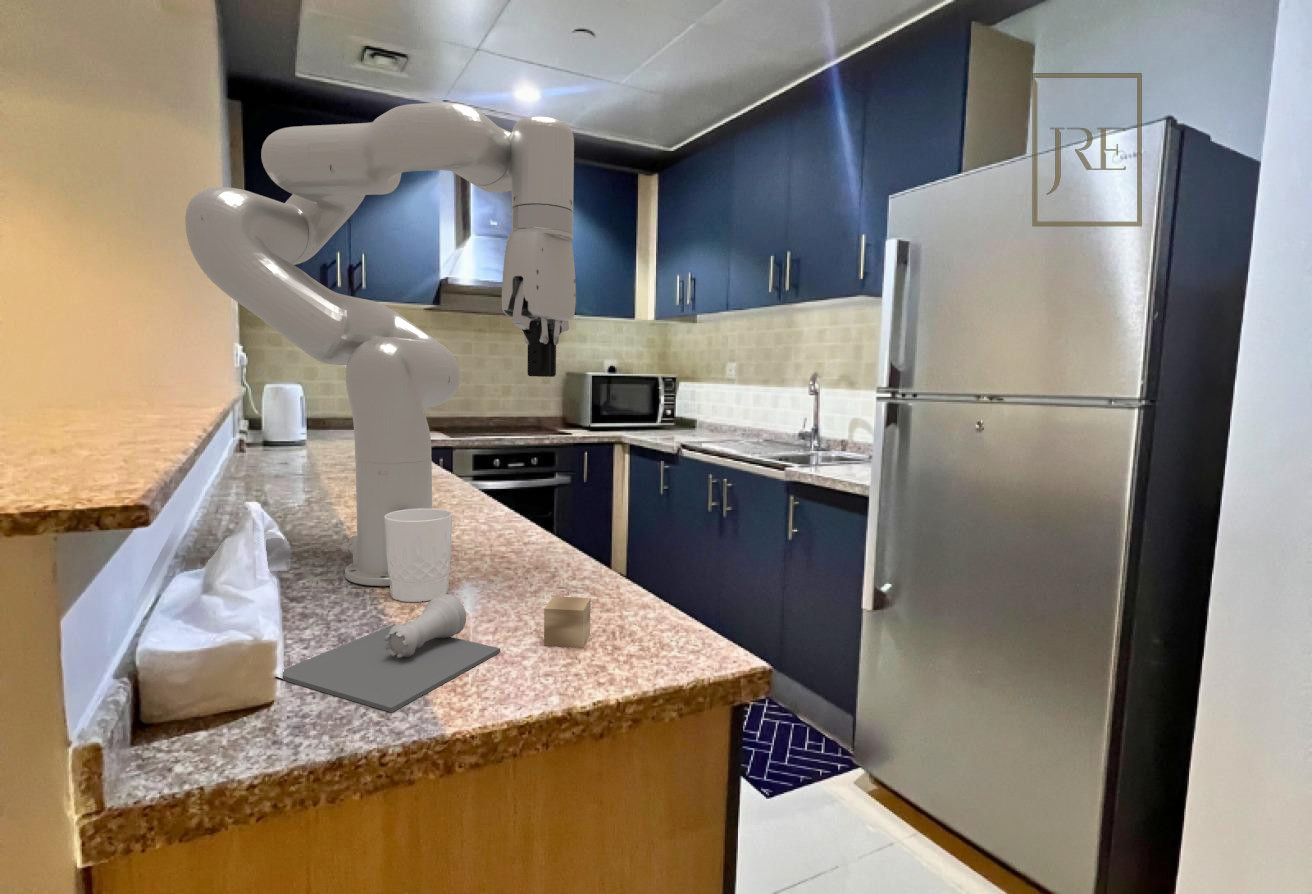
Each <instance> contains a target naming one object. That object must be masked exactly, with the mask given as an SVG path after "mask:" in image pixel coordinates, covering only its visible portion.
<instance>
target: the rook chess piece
mask: <svg viewBox="0 0 1312 894" xmlns="http://www.w3.org/2000/svg"><path fill="white" fill-rule="evenodd" d="M466 621H467V611H466V609H465V606H464V604H463V603H462V602H461V600H460V599H459V598H457V597H455V596H454V595H451V594H441V595H438V596H437V597H436V598H434V599H432V600H429V602H428V603H426V605H425V607H424V609H423V611H422V613H421V614H420V615H419V616H418V617H416V618H415V619H413V620H408V621H406V622H405V623H403V625H401V624H396V625H395V626H393V627H392V628H391V630H390V633H388V634H389V635H387V636H386V637H385V641H388V644H386V645H385V648H386V650H387V649H389V648H390V649H391V650H392V652H391V653H390V655H391V656H392V657H394V656H396V655H397V658H401V657H405V658H406V657H411V656H412V655H413V654H414V652H415V649H416V648H421V647H422V646H423V645H424V643H425V642H426V641H429V640H431V639H434V638H449V637H453V638H454V636H455V635H459V634H460V633H461V632H462V631H463V630H464V628H465V625H466V623H467V622H466Z"/></svg>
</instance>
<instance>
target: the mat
mask: <svg viewBox="0 0 1312 894" xmlns="http://www.w3.org/2000/svg"><path fill="white" fill-rule="evenodd" d="M395 625H397V624H396V623H394V624H392V625H391V624H390V625H389V626H386V627H384V628H381V629H378V630H376V631H373V632H372V633H368V634H367V635H364V636H362V637H359V638H357V639H354V640H353V641H349V642H346V643H345V644H343V645H339V646H337V647H335V648H332V649H330V650H328V651H324V652H323V653H320V654H318V655H316V656H313V657H311V658H308V659H306V660H305V659H304V660H303V661H301V662H298V663H296V664H294V665H291V666H288V667H286V668H283V669H284V672H283V680H282V681H285V682H289V683H292V684H294V685H299V686H302V687H305V688H307V689H312V690H315V691H318V692H322V693H325V694H327V695H328V694H329V695H331V696H335V697H339V698H342V699H345V700H349V701H352V702H355V703H359V704H362V705H365V706H368V707H372V708H376V709H379V710H381V711H385V712H388V713H394V712H395V711H397V710H399V709H401V708H403V707H404V706H406V705H408V704H410V703H412V702H413V701H416V700H417V699H419V698H421V697H423V696H424V695H426V694H428V693H431V691H433V690H435V689H437V688H438V686H439V687H440V686H442V685H444V684H446V683H447V682H449V681H451V680H452V679H455V678H456V677H458V676H460V675H462V674H464V673H466V672H468V671H469V670H471V669H473V668H474V666H475V667H476V666H478V665H480V664H482V663H484V662H485V661H487V660H489V659H491V658H492V656H493V657H494V656H496V655H497V654H500V653H501V647H496V646H492V645H487V644H483V643H479V642H474V641H470V640H466V639H461V638H457V637H454V636H453V637H449V638H434V639H431V640H429V641H426V642H425V643H424V645H423V646H422V647H421V648H416V649H415V652H414V654H413V655H412V656H411V657H406V658H405V657H401V658H397V655H396V656H394V657H392V656H391V655H390V653H391V652H392V650H391V649H390V648H389V649H387V650H386V648H385V645H386V644H388V641H385V637H386V636H387V635H389V634H388V633H390V630H391V628H392V627H393V626H395ZM499 652H500V653H499ZM483 661H484V662H483ZM481 662H482V663H481ZM479 663H480V664H479ZM477 664H478V665H477ZM472 667H473V668H472ZM470 668H471V669H470ZM465 671H466V672H465ZM445 682H446V683H445ZM422 695H423V696H422Z"/></svg>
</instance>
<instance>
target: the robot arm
mask: <svg viewBox="0 0 1312 894" xmlns="http://www.w3.org/2000/svg"><path fill="white" fill-rule="evenodd" d="M574 138H575V137H574V132H573V130H572V128H571V127H570V126H569V125H568V124H567V123H566V122H565V121H563V120H560V119H557V118H554V117H551V116H550V117H549V116H543V115H536V116H535V115H533V116H528V117H523V118H521V119H519V120H518V121H516V122H515V124H514V125H513V127H512V131H508V130H507V129H504V128H502V127H500V126H498V125H497V124H496V123H495V122H494V121H493V120H491V119H490V118H489V117H488V116H486V115H485V114H484V113H483V112H481V111H479V109H477V108H475V107H473V106H470V105H468V104H463V103H457V102H427V103H424V102H423V103H411V104H403V105H399V106H396V107H393V108H391V109H389V110H387V111H386V112H384V113H383V114H381V115H379V116H378V117H376V118H375V119H374V120H373V121H371V122H361V123H360V122H359V123H345V124H344V123H341V124H339V123H338V124H321V125H302V126H300V125H299V126H289V127H283V128H279V129H277V130H275V131H273V132H272V133H271V134H268V136H267V137H266V139H265V140H264V141H263V143H262V148H261V150H260V151H261V152H260V153H261V163H262V165H263V168H264V170H265V172H266V173H267V175H268V177H269V178H270V179H271V181H273V182H274V184H275V185H276V186H278V187H280V188H281V189H283V190H284V191H286V192H288V193H290V194H291V196H290V197H289V198H288V199H287V200H286V201H285V202H281V201H279V200H276V199H273V198H270V197H267V196H264V195H260V194H258V193H255V192H252V191H249V190H245V189H241V188H235V187H228V186H227V187H226V186H220V187H219V186H217V187H216V186H215V187H209V188H206V189H204V190H202V191H201V190H200V191H199V192H197V193H196V194H194V196H193V197H192V198H191V199H190V201H189V202H188V205H187V207H186V211H185V221H184V222H185V223H184V224H185V226H184V227H185V233H186V238H187V242H188V246H189V248H190V251H191V252H192V256H193V258H194V260H195V262H196V263H197V265H198V266H199V267H200V269H201V270H202V272H203V273H204V275H206V277H207V278H208V279H209V280H210V281H211V282H212V283H213V284H214V285H215V286H216V287H217V288H219V289H220V290H221V291H222V292H224V293H225V295H226V296H229V297H230V298H231V299H233V300H234V302H236V303H238V304H240V305H241V306H242V307H244V308H245V309H247V310H248V311H249V312H250V313H252V314H254V315H255V316H257V317H258V318H259V319H261V320H262V321H263V322H264V323H265V324H267V325H268V326H269V327H271V329H273V330H275V331H276V332H277V333H278V334H280V335H281V336H283V337H284V338H286V339H287V340H288V341H290V342H291V343H292V344H294V345H295V346H296V347H298V349H300V350H302V351H303V352H304V353H306V354H307V355H309V356H310V357H311V358H312V359H314V360H316V361H319V362H320V363H323V364H329V365H336V366H346V368H345V386H346V392H347V397H348V400H349V405H350V410H351V415H352V422H353V433H354V436H353V437H354V457H355V458H354V460H355V494H356V496H355V497H356V498H355V499H356V501H355V502H356V535H353V536H352V535H351V537H350V538H349V540H348V542H344V543H342V545H341V551H342V552H343V553H347V554H352V562H351V563H350V564H348V565H346V567H345V569H344V573H345V574H344V577H345V579H346V580H348V581H349V582H352V583H354V584H358V585H362V586H371V587H374V586H375V587H376V586H377V587H390V576H389V573H388V562H387V551H386V535H385V520H384V516H385V515H386V514H388V513H391V512H394V511H399V510H407V509H433V469H432V464H433V463H432V462H433V461H432V459H433V458H432V439H431V432H430V431H431V430H430V427H429V423H428V419H427V417H426V413H425V410H424V409H429V408H434V407H438V406H440V405H443V404H445V403H447V402H448V401H450V400H451V399H452V398H454V397H453V396H454V395H455V394H456V393H457V391H458V389H459V387H460V384H461V372H460V371H461V370H460V366H459V364H458V361H457V359H456V358H455V356H454V355H453V353H452V352H451V351H450V350H449V349H448V348H447V347H446V346H445V345H443V344H442V343H441V342H439V341H438V340H437V339H435V338H433V336H431V335H429V334H428V333H427V332H425V331H424V330H423V329H421V328H420V327H418V326H417V325H415V324H414V323H412V321H409V320H408V319H407V318H405V317H404V316H403V315H401V314H399V313H398V312H397V311H396V310H393V309H392V308H390V307H388V306H386V305H384V304H383V303H379V302H377V301H374V300H370V299H365V298H360V297H356V296H351V295H347V294H343V293H342V294H341V293H338V292H336V291H333V290H331V289H330V288H328V287H326V286H325V285H323V284H322V283H320V282H318V281H317V280H316V279H314V278H312V277H311V276H310V275H309V274H308V273H306V272H305V271H304V270H303V269H301V268H299V267H298V266H296V265H299V264H302V263H305V262H307V261H308V260H310V259H311V258H312V257H314V256H316V254H317V253H318V252H319V251H320V250H321V249H322V248H323V247H324V245H326V243H327V242H328V241H329V240H330V239H331V238H332V237H333V236H334V235H335V233H337V231H338V230H339V229H341V227H343V225H344V224H345V223H346V222H347V221H348V220H349V219H350V218H351V216H352V215H353V214H354V213H355V212H356V210H357V209H358V208H359V206H360V205H361V203H362V202H363V201H364V199H365V197H366V196H371V195H378V196H380V195H388V194H391V193H393V192H394V191H395V190H396V189H397V188H398V187H399V184H400V182H401V178H402V174H403V173H407V172H422V171H448V172H451V173H454V174H455V175H457V176H459V177H461V178H462V179H464V180H466V182H469V183H470V184H471V185H474V186H475V187H477V188H479V189H480V190H482V191H485V192H487V193H488V192H489V193H494V194H495V193H497V194H499V193H507V192H510V191H511V232H510V233H508V237H507V241H506V246H505V251H504V258H503V259H504V260H503V267H502V268H503V270H502V281H501V282H502V283H501V284H502V285H501V309H502V312H503V313H504V314H505V316H507V317H509V318H512V320H511V323H512V325H513V326H515V327H516V328H519V329H520V330H522V332H523V337H524V338H523V339H524V342H525V344H526V345H527V376H528V377H538V378H539V377H545V378H547V377H548V378H553V377H555V376H556V375H557V346H558V344H559V342H560V335H561V333H562V334H563V333H564V332H568V331H569V329H570V324H569V321H571V320H572V319H573V318H574V316H575V313H576V302H577V297H576V295H577V292H576V291H577V290H576V289H577V288H576V287H577V285H576V270H575V269H576V267H575V256H574V249H573V241H574V184H575V183H574V181H575V180H574V178H575V177H574V172H575V171H574V170H575V168H574V167H575V165H574V164H575V160H574V158H575V153H574V152H575V139H574Z"/></svg>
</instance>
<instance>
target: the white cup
mask: <svg viewBox="0 0 1312 894" xmlns="http://www.w3.org/2000/svg"><path fill="white" fill-rule="evenodd" d="M384 520H385V535H386V551H387V562H388V573H389V576H390V586H389V591H390V592H389V593H390V597H391V598H392V599H393V600H396V601H398V602H404V603H405V602H406V603H421V602H422V601H423V602H428V601H429V602H430V601H431V600H432V599H434V598H436V597H437V596H438V595H441V594H447V593H448V592H449V586H450V585H449V583H450V574H449V573H450V570H451V556H452V537H453V536H452V533H453V512H452V511H450V510H446V509H441V508H432V509H407V510H399V511H394V512H391V513H388V514H386V515H385V516H384Z"/></svg>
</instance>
